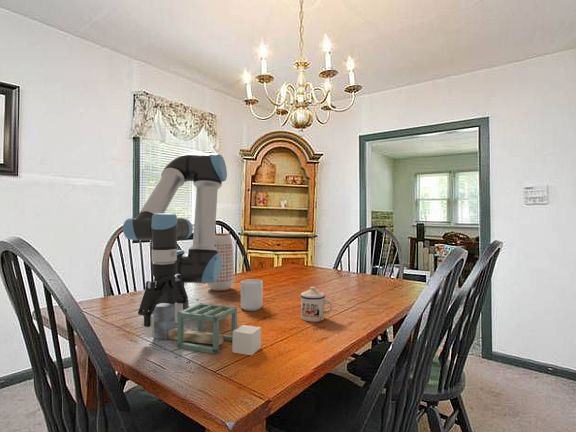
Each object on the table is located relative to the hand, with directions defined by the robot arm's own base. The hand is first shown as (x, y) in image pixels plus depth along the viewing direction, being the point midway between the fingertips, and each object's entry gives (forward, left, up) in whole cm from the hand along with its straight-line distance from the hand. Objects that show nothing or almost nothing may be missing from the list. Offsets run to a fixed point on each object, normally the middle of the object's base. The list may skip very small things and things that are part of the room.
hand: (165, 329), depth 112 cm
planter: (-20, +65, -2) cm, 68 cm away
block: (+29, 0, -2) cm, 29 cm away
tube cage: (+16, 0, -2) cm, 16 cm away
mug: (+11, +41, -2) cm, 42 cm away
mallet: (+9, 0, -2) cm, 9 cm away
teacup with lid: (+39, +36, -2) cm, 53 cm away
